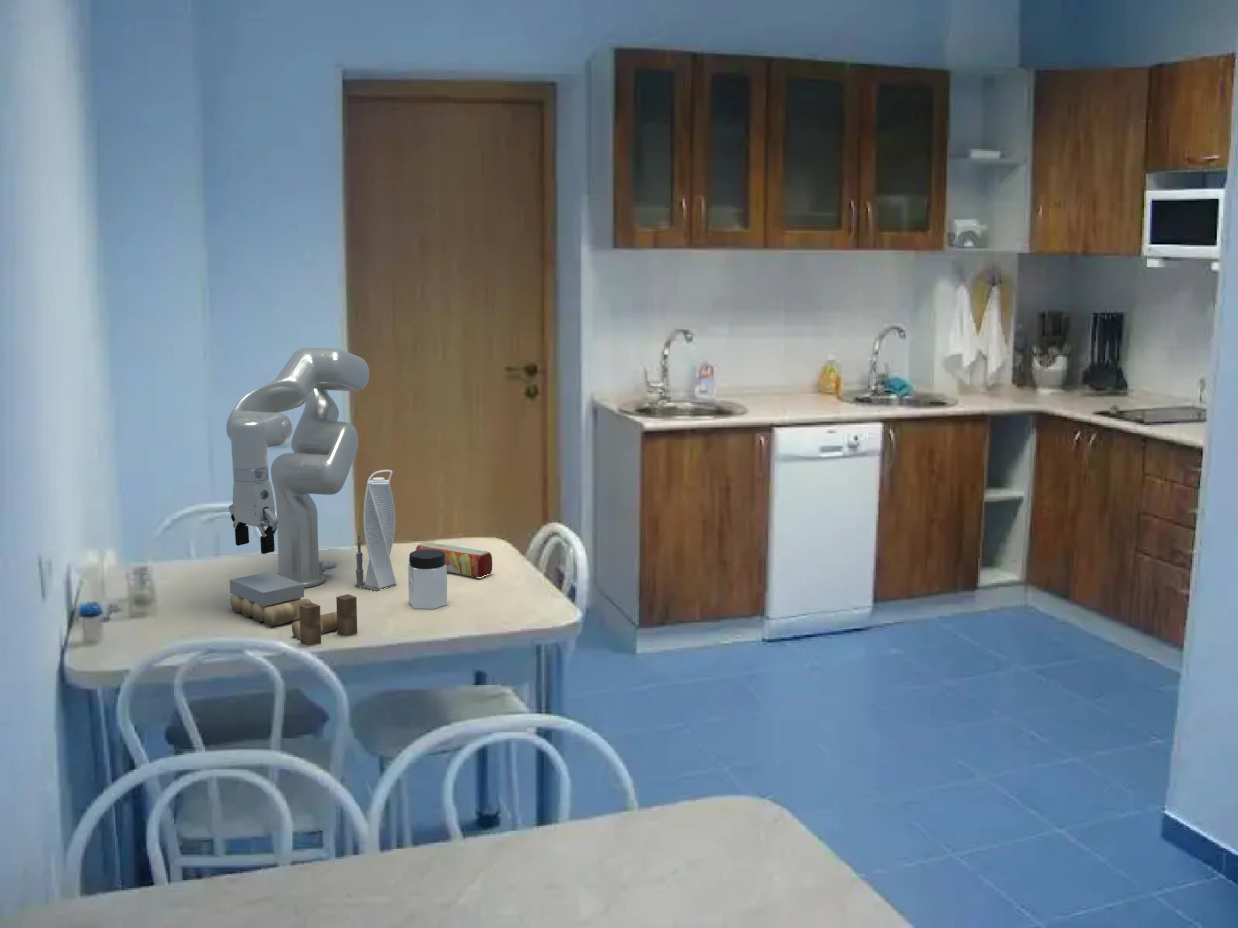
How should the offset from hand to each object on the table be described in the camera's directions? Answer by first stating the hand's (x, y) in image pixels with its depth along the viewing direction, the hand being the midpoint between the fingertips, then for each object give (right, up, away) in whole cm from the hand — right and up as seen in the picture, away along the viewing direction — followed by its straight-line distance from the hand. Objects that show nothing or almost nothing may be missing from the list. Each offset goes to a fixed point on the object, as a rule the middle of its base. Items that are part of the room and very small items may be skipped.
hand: (255, 548), depth 284 cm
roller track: (+5, -15, -3) cm, 16 cm away
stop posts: (+21, -18, -18) cm, 33 cm away
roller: (+18, -15, -15) cm, 28 cm away
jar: (+38, -14, +7) cm, 41 cm away
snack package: (+40, -9, +35) cm, 54 cm away
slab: (+3, -10, -2) cm, 11 cm away
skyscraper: (+24, -11, +21) cm, 34 cm away
